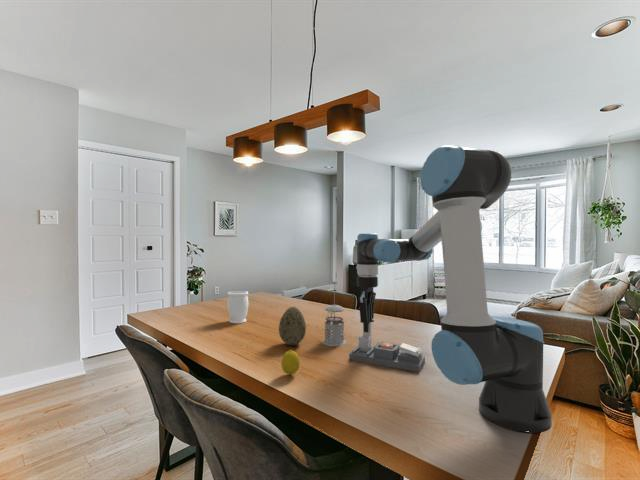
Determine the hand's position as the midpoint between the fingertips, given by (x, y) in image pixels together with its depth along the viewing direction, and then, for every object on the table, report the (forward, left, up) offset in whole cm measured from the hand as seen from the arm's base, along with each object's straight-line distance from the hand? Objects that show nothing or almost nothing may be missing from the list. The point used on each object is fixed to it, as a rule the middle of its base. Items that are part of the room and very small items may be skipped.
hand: (367, 340), depth 120 cm
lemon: (-28, +15, -6) cm, 32 cm away
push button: (-2, -8, -3) cm, 9 cm away
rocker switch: (-2, -16, -1) cm, 16 cm away
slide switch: (-2, 0, -3) cm, 4 cm away
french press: (+8, +17, -6) cm, 20 cm away
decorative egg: (-3, +30, -6) cm, 31 cm away
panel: (-2, -8, -5) cm, 10 cm away
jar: (+14, +73, -6) cm, 75 cm away
